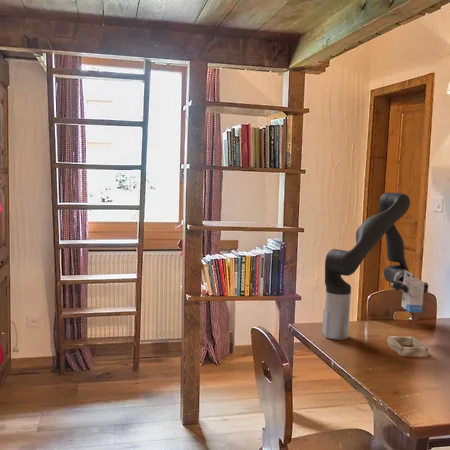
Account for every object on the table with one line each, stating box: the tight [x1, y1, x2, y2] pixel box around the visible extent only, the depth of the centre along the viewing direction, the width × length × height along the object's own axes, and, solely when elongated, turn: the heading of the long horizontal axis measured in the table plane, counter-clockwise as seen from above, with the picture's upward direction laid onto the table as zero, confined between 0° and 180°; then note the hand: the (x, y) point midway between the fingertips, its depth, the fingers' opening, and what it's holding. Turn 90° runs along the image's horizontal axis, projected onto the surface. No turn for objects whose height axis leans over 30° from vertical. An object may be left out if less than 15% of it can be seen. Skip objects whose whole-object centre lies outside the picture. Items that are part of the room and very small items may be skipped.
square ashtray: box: [386, 335, 429, 358], centre depth 180 cm, size 10×12×3 cm
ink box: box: [401, 270, 425, 314], centre depth 190 cm, size 8×5×15 cm, turn 2°
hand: (415, 290), depth 188 cm, fingers closed on ink box, 5 cm apart
